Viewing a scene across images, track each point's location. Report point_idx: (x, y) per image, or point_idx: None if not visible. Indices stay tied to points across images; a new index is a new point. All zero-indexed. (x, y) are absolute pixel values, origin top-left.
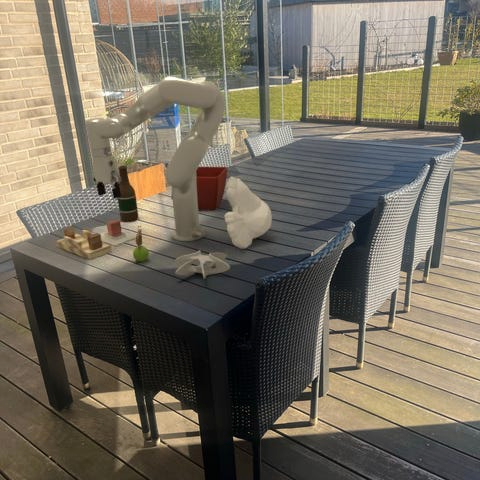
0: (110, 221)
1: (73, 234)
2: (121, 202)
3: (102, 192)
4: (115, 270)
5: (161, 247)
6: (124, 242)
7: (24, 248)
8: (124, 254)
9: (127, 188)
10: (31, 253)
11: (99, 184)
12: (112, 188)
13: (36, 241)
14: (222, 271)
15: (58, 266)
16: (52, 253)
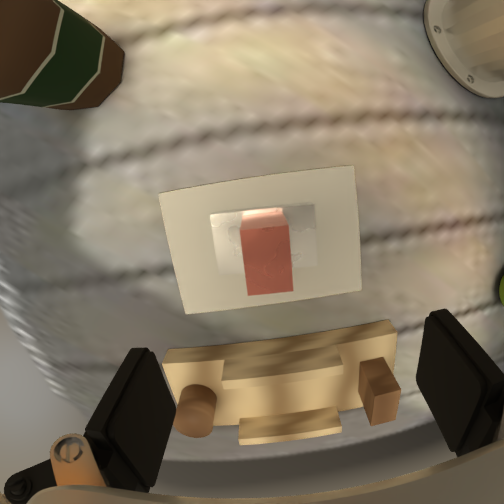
0: (248, 270)
1: (211, 405)
2: (40, 92)
3: (159, 398)
4: None
5: (492, 173)
6: (359, 242)
7: None
8: (441, 297)
9: (2, 21)
10: (189, 455)
11: (129, 485)
12: (464, 452)
13: None
14: None
15: (339, 444)
16: (234, 434)
